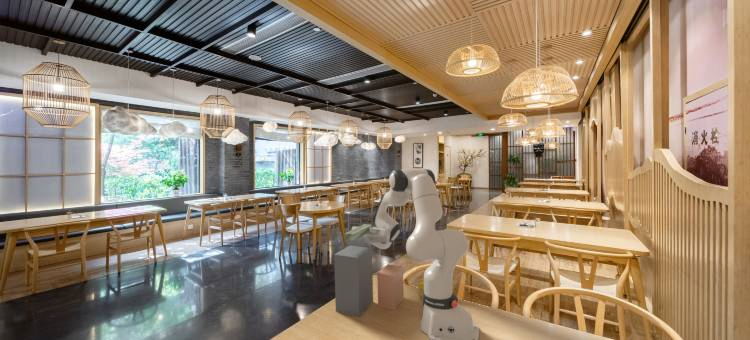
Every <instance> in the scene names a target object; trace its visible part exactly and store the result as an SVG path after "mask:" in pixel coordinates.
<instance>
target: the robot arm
mask: <svg viewBox="0 0 750 340" xmlns="http://www.w3.org/2000/svg"><path fill="white" fill-rule="evenodd" d="M388 184H389V190H387V191H385V192H384V194H382V196H381V199H380V200H379V203H378V205H377V208H376V210H375V212H374V213H373V215H372V217H371V222H372V224H373V226H372V228H371V227H368V231H369V232H368V233H366V234H365V235H363V236H361V237H362V238H366V240H367V242H368V243H370V244H371V245H373V246H375V247H376V248H378V249H380V250H386V249H388V248H390V247H391V245H392V243H393V242H394V241H396V239H398V238H399V236H400V234H401V230H402V228H401V224H400V223H399V222H398V221H396V219H394V218H393V217H392V216H390V214H388V212H387V210H388V208H389V206H390V205H391V206H393V207H402V206H404V205H406V204H407V203H408V202H409V200H410V197H412V203H413V206H414V211H415V219H416V221H415V226H414V229H413V231H412V233H411V234H410V235H409V237H408V238H407V240H406V242H405V249H406V250H405V251H406V253H407V255H408V257H409V258H410V259H411V260H412V261H415V262H430V261H432V263H431V264H430V265H429V266H428V267H427V268H426V269H425V271H424V272H423V282H424V291H423V300H422V305H423V312H422V317H421V318H422V319H421V322H420V329H421V331H423V333H425V334H426V335H427V336H428V338H429V340H479V339H480V329H479V326H478V325H477V324H476V323H475V322H473V317H472V315H471V313H470V312H469V311H468V310H467V309H465V308H464V307H463V306H462V305H460V304H459V302H458V294H454V292H453V293H452V282H453V279H454V278H453V277H454V273H455V272H454V271H455V268H456V266H457V264H458V262H459V261H460V259H461V257H463V255H465V254H466V253H467V250H468V248H469V241H468V238H467V236H466V235H465V233H464V232H463V231H462V230H458V229H441V230H440V229H439V230H436V225H435V224H436V223H437V222H438V221H439V220H441V218H442V217H443V214H444V210H443V207H442V203H441V200H440V196H439V191H438V190H437V187H436V185H435V184H436V176H435V174H434V172H433V171H432V170H431V169H427V168H413V167H412V168H410V167H409V168H402V169H401V168H397V169H394V170H392V171H391V172H390V173H389V178H388ZM360 226H361V225H360ZM360 226H359V225H358V226H354V225H353V226H352V227H351V230H353V229H355V228H357V227H360ZM361 237H360V238H361Z"/></svg>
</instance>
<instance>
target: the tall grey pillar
mask: <svg viewBox="0 0 750 340" xmlns="http://www.w3.org/2000/svg"><path fill="white" fill-rule="evenodd" d="M333 256H334V257H333V260H334V261H333V262H334V263H333V265H334V286H335V287H334V295H335V312H337V313H341V314H346V315H349V316H353V317H357V318H359V317H361V316H362V315H363V314H364V313H365V312H366V310H367V309H368V308H369V307H370V306H372V304H373V303H374V284H373V282H374V279H373V277H374V275H373V248H372V247H364V246H357V245H348V246H347V247H344V248H343V249H341V250H340V251H338V252H335V253H334V254H333Z"/></svg>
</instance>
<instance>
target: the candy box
mask: <svg viewBox="0 0 750 340" xmlns="http://www.w3.org/2000/svg"><path fill="white" fill-rule="evenodd" d="M418 289H419V290H418V291H419V292H418V299H419V300H420V301H423V291H424V281H420V282H418ZM452 293H453V294H454V283H453V281H452Z"/></svg>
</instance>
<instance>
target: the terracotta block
mask: <svg viewBox="0 0 750 340" xmlns="http://www.w3.org/2000/svg"><path fill="white" fill-rule="evenodd" d="M376 275H377V277H376V278H377V306H378V307H379V308H382V309H388V310H391V311H395V310H396V309H397V307H398V306H399V305H400V303H401V302H402V301H403V299H404V296H405V295H404V293H405V291H404V266H401V265H396V264H395V265H394V264H391V263H390V264H389V263H387V264H386V265H385V266H384V267H383V268H382V269H381V270H380V271H379V272H378V273H376Z"/></svg>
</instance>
